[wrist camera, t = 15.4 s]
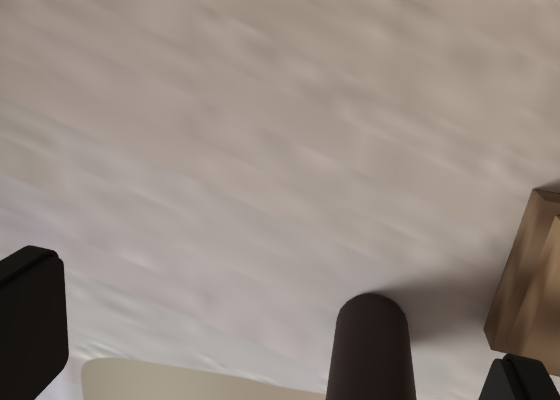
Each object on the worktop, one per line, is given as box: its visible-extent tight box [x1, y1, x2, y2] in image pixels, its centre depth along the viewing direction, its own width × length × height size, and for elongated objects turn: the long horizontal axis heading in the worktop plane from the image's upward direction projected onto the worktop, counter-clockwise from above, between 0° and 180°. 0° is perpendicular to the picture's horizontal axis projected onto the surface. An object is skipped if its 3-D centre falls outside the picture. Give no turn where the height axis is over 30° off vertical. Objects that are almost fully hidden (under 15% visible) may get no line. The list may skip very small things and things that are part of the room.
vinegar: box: [326, 294, 417, 400], centre depth 34 cm, size 7×7×20 cm
